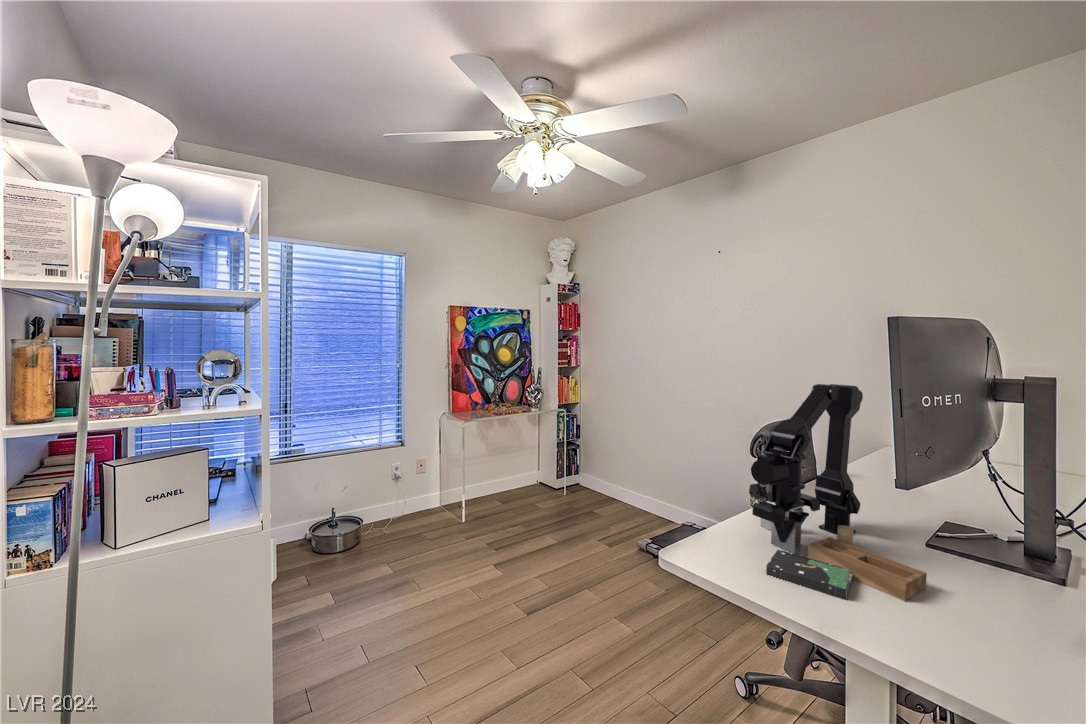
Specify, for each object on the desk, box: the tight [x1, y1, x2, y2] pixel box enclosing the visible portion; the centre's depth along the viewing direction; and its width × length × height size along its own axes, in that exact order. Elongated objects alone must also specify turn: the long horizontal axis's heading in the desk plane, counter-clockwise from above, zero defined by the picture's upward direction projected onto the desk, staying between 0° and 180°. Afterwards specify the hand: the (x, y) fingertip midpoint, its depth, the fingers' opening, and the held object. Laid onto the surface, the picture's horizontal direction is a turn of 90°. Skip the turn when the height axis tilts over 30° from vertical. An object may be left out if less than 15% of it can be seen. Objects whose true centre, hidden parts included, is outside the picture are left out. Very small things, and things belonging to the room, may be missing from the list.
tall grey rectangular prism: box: [770, 519, 802, 555], centre depth 109 cm, size 2×6×8 cm, turn 29°
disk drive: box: [765, 549, 854, 601], centre depth 95 cm, size 10×3×15 cm
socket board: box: [807, 536, 928, 602], centre depth 97 cm, size 9×19×4 cm, turn 29°
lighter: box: [759, 517, 772, 531], centre depth 119 cm, size 7×2×8 cm, turn 57°
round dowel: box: [836, 525, 855, 546], centre depth 107 cm, size 3×3×6 cm
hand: (785, 540), depth 109 cm, fingers closed on tall grey rectangular prism, 2 cm apart
